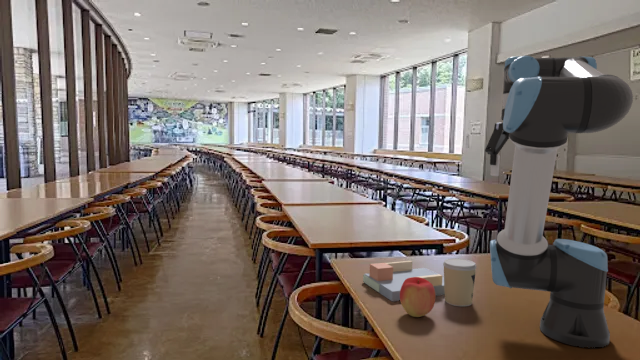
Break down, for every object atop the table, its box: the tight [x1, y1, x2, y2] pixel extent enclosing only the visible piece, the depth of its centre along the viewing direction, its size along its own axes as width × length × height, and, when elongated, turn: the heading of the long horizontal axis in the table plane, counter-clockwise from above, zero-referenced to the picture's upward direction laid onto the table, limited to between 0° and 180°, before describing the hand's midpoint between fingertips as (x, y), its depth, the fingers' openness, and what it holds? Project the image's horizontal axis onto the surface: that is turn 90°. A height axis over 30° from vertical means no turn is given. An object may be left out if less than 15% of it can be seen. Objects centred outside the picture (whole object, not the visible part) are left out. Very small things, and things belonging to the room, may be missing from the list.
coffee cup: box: [442, 257, 477, 307], centre depth 131 cm, size 9×9×12 cm
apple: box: [400, 277, 437, 318], centre depth 120 cm, size 10×10×10 cm
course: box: [362, 260, 445, 302], centre depth 143 cm, size 18×24×6 cm
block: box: [368, 262, 393, 281], centre depth 143 cm, size 6×6×4 cm
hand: (510, 175), depth 141 cm, fingers open, 13 cm apart
